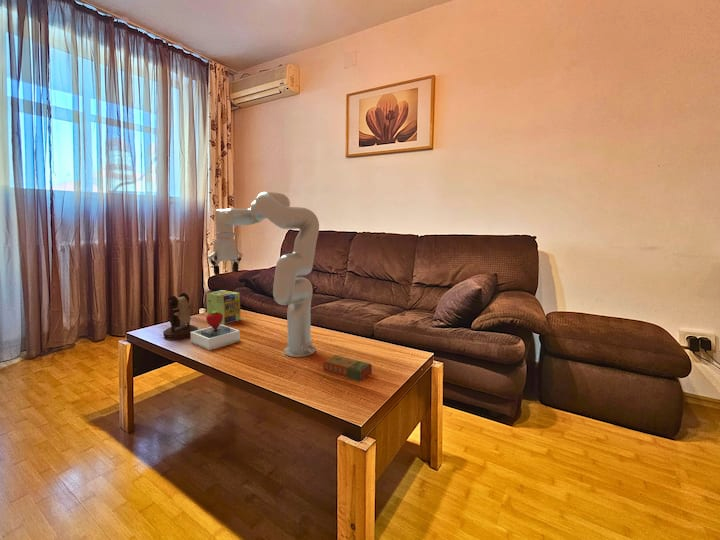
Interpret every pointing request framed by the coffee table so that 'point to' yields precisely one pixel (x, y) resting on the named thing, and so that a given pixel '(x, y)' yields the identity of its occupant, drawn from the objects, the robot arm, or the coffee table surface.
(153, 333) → the coffee table surface
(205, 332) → the block
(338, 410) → the coffee table surface
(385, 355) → the coffee table surface
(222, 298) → the protein box
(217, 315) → the strawberry
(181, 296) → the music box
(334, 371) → the carton
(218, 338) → the tote
